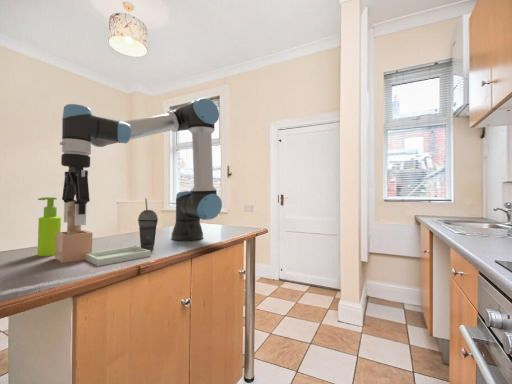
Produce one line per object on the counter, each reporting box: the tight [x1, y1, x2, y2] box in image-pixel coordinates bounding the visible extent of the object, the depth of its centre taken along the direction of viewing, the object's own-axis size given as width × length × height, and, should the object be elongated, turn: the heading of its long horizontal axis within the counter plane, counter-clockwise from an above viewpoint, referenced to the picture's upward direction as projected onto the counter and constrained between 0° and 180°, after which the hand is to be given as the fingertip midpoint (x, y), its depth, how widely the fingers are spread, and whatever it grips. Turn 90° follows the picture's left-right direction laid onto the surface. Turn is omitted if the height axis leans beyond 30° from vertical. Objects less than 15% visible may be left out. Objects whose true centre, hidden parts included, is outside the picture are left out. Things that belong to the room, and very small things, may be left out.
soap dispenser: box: [37, 196, 62, 257], centre depth 84 cm, size 6×7×20 cm
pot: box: [54, 229, 93, 264], centre depth 80 cm, size 8×8×9 cm
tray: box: [84, 245, 152, 267], centre depth 82 cm, size 16×11×3 cm
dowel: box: [66, 202, 82, 235], centre depth 80 cm, size 4×4×18 cm
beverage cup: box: [137, 198, 159, 251], centre depth 98 cm, size 7×7×20 cm
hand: (74, 223), depth 80 cm, fingers open, 10 cm apart
